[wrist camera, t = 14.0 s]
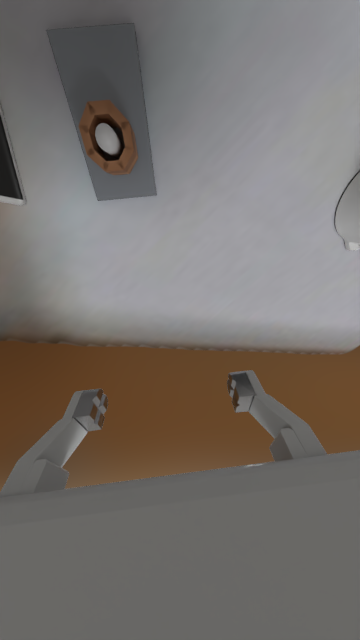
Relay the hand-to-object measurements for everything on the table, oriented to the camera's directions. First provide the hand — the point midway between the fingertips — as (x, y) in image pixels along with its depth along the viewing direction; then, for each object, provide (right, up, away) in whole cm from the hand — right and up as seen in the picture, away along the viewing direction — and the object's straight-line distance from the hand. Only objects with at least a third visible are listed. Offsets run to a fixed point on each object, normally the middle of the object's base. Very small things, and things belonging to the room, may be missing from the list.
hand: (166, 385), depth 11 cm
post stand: (-9, +32, +14) cm, 36 cm away
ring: (-9, +30, +14) cm, 34 cm away
